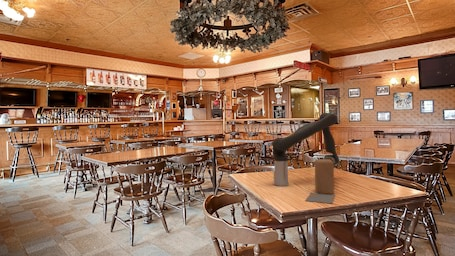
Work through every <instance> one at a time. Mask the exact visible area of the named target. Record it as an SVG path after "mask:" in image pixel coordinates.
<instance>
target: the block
mask: <svg viewBox="0 0 455 256" xmlns="http://www.w3.org/2000/svg"><path fill="white" fill-rule="evenodd" d="M334 168H335V167H334V163H333V161H332V160H330V159H324V158H317V159H315V160H314V185H315V186H314V187H315V189H314V190H315V191H316V194H326V195H333V194H335V173H334V171H335V170H334Z"/></svg>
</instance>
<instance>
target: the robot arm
mask: <svg viewBox="0 0 455 256" xmlns="http://www.w3.org/2000/svg"><path fill="white" fill-rule="evenodd" d="M337 120H338V117H337V116H336V114H335V113H331V112H322V113H321V114H320V115H319V120H316V121H312V122H309V123H308V122H307V123H306V124H303V125H301V126H300V127H298V128H297V129H296V130H295V131H293V133H291V134H290V135H287V136H285V137H276V138H274V140H273V141H272V155H273V158H274V159H273V160H274V162H273V163H274V170H273V185H274V186H276V187H278V186H279V187H286V186H289V164H288V163H289V162H288V159H289V157H288V155H287V154H286V151H288V150H289V149H291V147H294V146H295V145H296V144H298V143H300V142H302V141H304V140H306V139H308V138H310V137H312V136H313V135H315V134H317V133H319V132H322V136H323V139H324V147H325V152H326V153H329V154H326V155H325V156H324V157H323V159H330V160H332V161H333V163H334V168H336V167H338V164H339V162H340V158H339V155H338V154H337V150H336V142H335V138H334V136H333V135H332V131H331V129H330V127H331V126H334V125H335V124H336V123H337Z"/></svg>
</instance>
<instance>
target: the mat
mask: <svg viewBox="0 0 455 256" xmlns="http://www.w3.org/2000/svg"><path fill="white" fill-rule="evenodd" d="M335 197H336V195H333V194H318V193H317V192H316V193H314V192H310V194H308V196H307V197H306V199H305V200H304V201H305V202H310V203H318V204H319V203H320V204H329V205H333V203H334V200H335Z"/></svg>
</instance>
